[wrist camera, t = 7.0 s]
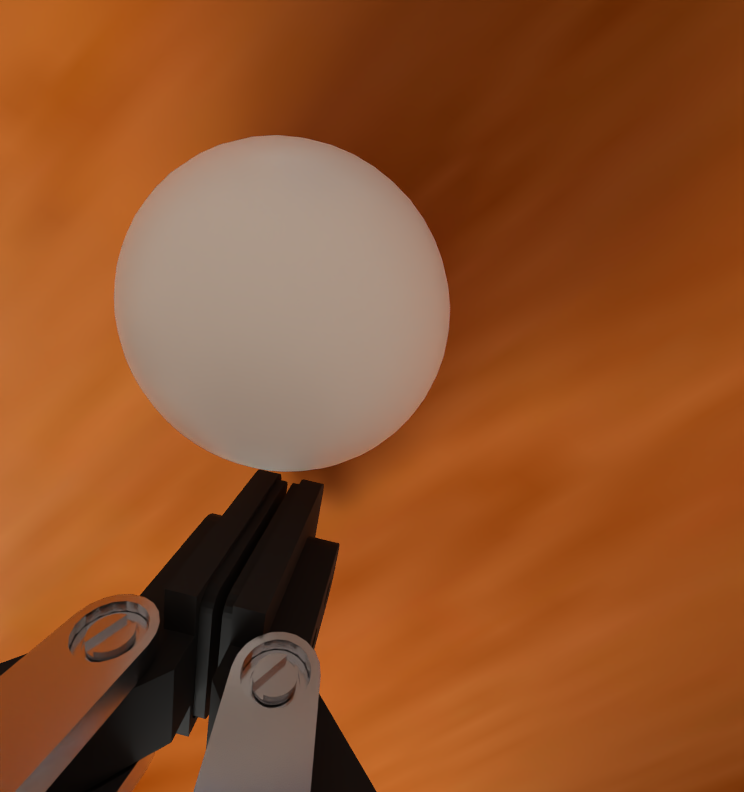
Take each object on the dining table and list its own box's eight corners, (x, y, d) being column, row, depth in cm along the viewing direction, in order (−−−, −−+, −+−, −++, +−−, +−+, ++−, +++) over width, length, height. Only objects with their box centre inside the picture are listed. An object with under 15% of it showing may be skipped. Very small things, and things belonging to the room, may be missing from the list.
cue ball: (538, 468, 5) (494, 303, 9) (189, -49, 3) (349, 61, 7) (239, 576, 7) (320, 403, 12) (-64, 339, 5) (174, 241, 10)
